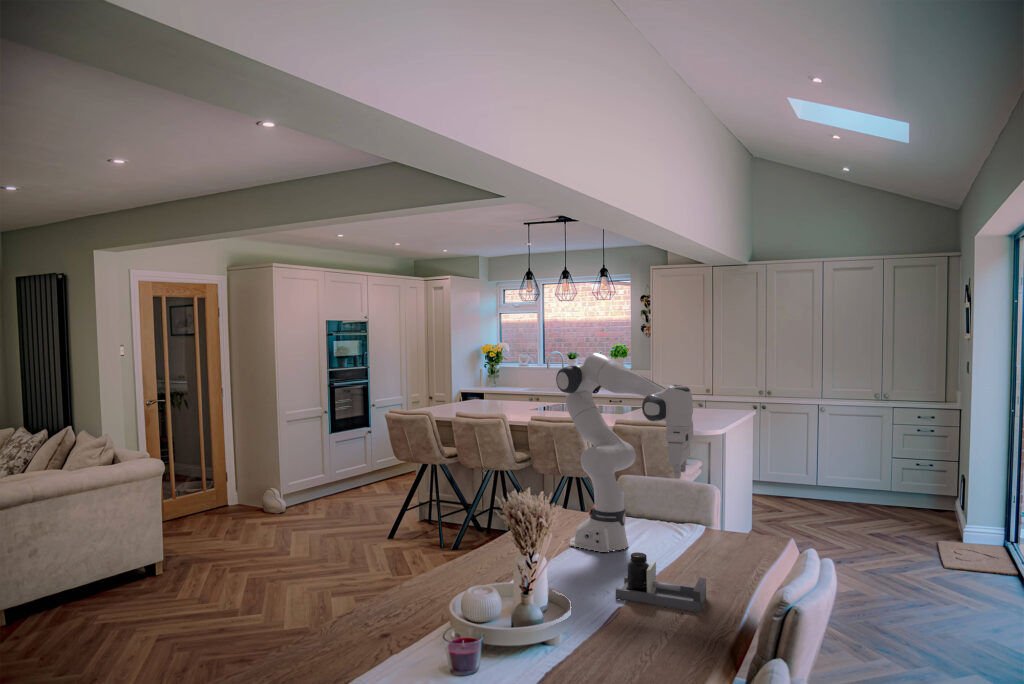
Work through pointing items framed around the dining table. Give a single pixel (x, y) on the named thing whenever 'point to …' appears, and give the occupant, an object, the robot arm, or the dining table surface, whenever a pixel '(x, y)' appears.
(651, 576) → the pusher
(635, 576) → the supplement bottle
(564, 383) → the robot arm
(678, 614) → the dining table surface
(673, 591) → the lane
